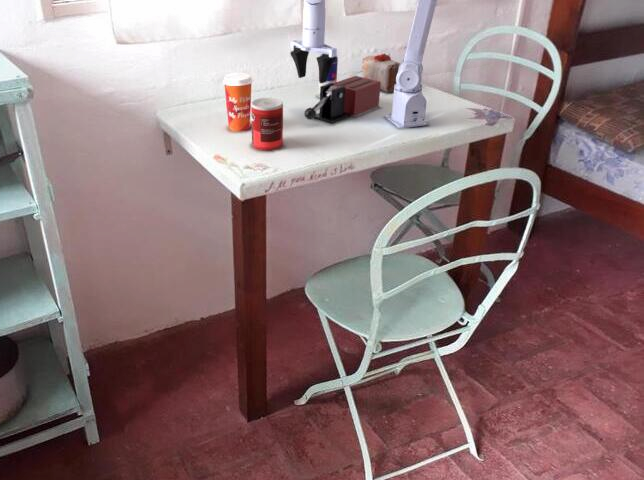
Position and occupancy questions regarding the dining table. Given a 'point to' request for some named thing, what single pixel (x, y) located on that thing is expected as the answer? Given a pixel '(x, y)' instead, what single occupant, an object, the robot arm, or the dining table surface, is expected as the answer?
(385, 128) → the dining table surface
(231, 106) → the paper cup
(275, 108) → the canned food
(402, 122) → the robot arm
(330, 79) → the energy drink
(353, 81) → the toaster
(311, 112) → the toaster lever
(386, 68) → the food item
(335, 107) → the lever bracket
